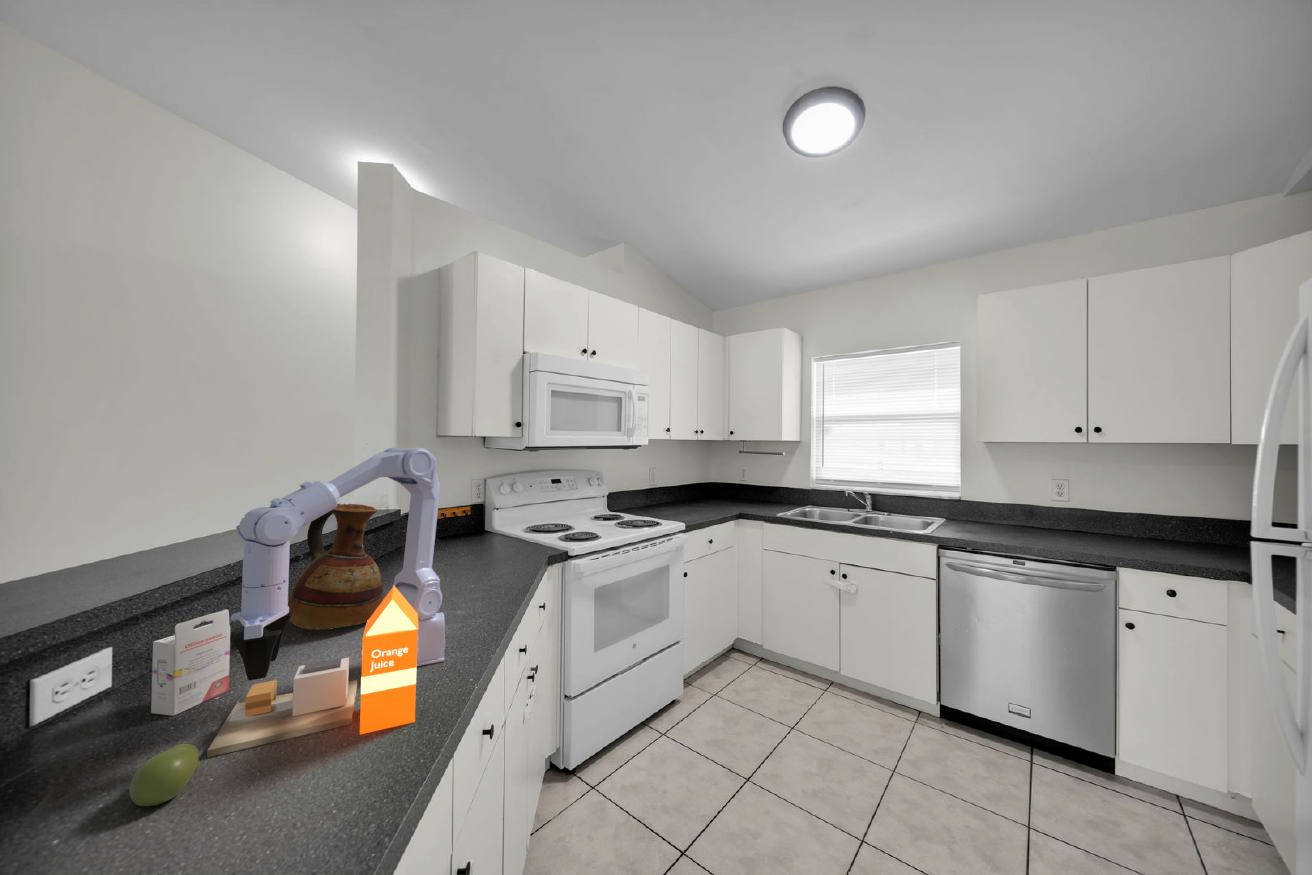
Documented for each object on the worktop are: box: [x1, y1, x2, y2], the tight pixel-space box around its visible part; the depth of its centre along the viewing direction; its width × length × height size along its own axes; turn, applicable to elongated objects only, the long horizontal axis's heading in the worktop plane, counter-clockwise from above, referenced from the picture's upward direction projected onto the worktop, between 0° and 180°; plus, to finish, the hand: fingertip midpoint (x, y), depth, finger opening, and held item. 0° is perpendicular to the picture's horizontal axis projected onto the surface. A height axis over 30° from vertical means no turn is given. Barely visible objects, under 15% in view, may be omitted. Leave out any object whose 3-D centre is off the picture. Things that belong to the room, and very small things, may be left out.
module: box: [292, 657, 350, 716], centre depth 78 cm, size 7×5×6 cm
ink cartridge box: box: [150, 609, 231, 716], centre depth 80 cm, size 9×5×15 cm, turn 168°
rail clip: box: [245, 679, 278, 717], centre depth 74 cm, size 3×4×3 cm, turn 29°
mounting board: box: [206, 679, 358, 758], centre depth 76 cm, size 17×14×1 cm
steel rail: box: [229, 689, 349, 728], centre depth 76 cm, size 15×3×1 cm, turn 119°
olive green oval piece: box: [129, 743, 201, 807], centre depth 60 cm, size 6×5×10 cm
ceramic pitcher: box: [288, 503, 384, 631], centre depth 117 cm, size 20×20×30 cm
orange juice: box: [359, 584, 418, 735], centre depth 77 cm, size 8×9×20 cm
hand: (262, 669), depth 74 cm, fingers open, 6 cm apart
